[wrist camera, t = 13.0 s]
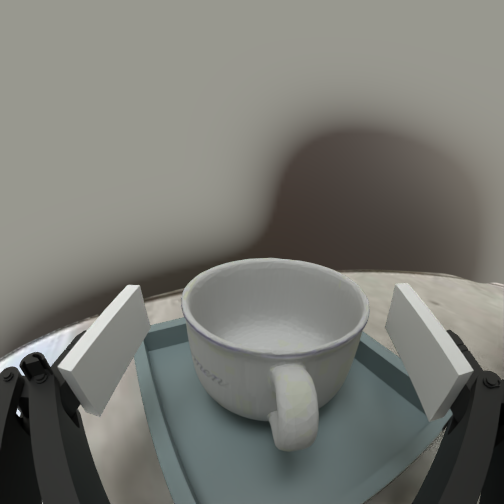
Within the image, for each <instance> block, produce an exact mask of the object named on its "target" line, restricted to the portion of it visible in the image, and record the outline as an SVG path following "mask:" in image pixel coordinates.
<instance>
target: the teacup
mask: <svg viewBox="0 0 504 504" xmlns="http://www.w3.org/2000/svg"><path fill="white" fill-rule="evenodd" d="M181 307H182V311H183V315H184V317H185V319H186V326H187V334H188V340H189V345H190V350H191V355H192V359H193V363H194V367H195V370H196V373H197V375H198V378H199V380H200V382H201V384H202V385H203V387H204V388H205V390H206V391H207V393H208V394H209V395H210V396H211V397H212V398H213V399H214V400H215V401H216V402H217V403H219V404H220V405H221V406H222V407H224V408H226V409H227V410H229V411H231V412H233V413H235V414H238V415H240V416H243V417H246V418H249V419H253V420H260V421H269V422H270V425H271V429H272V434H273V439H274V443H275V446H276V447H277V448H278V449H279V450H282V451H287V452H290V451H297V450H302V449H305V448H308V447H310V446H311V445H312V444H313V443H314V441H315V439H316V436H317V432H318V420H319V411H318V409H319V408H321V407H322V406H324V405H325V404H326V403H328V402H329V401H330V400H331V399H332V398H333V397H334V396H335V394H336V393H337V392H338V391H339V389H340V388H341V386H342V384H343V383H344V381H345V379H346V377H347V375H348V372H349V370H350V368H351V365H352V362H353V360H354V357H355V354H356V351H357V348H358V345H359V341H360V338H361V334H362V331H363V329H364V327H365V325H366V323H367V321H368V317H369V312H370V309H369V302H368V298H367V296H366V294H365V293H364V292H363V290H362V289H361V288H360V287H359V285H357V284H356V283H355V282H354V281H352V280H351V279H350V278H348V277H346V276H345V275H343V274H341V273H339V272H337V271H334V270H332V269H329V268H326V267H324V266H320V265H317V264H313V263H308V262H303V261H296V260H288V259H277V258H262V259H246V260H240V261H234V262H230V263H226V264H222V265H219V266H216V267H214V268H211V269H209V270H207V271H205V272H203V273H201V274H200V275H198V276H196V277H195V278H194V279H193V280H191V281H190V282H189V283H188V285H187V287H186V288H185V289H184V291H183V293H182V298H181Z"/></svg>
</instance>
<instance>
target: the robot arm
mask: <svg viewBox="0 0 504 504" xmlns="http://www.w3.org/2000/svg"><path fill="white" fill-rule="evenodd" d="M150 328H151V326H150V323H149V319H148V316H147V312H146V308H145V304H144V300H143V296H142V292H141V288H140V285H127V287H125V288H124V290H123V291H122V292H121V293H120V294H119V295H118V296H117V297H116V298H115V299H114V300H113V302H112V303H111V304H110V305H109V306H108V307H107V308H106V309H105V311H104V312H103V313H102V314H101V315H100V316H99V317H98V318H97V320H96V321H95V322H94V323H93V324H92V325H91V327H90V328H89V329H88V330H87V331H83V332H82V333H80V334H79V335H77V336H76V337H75V338H74V339H73V341H72V342H71V344H69V345H68V347H67V348H66V350H64V351H63V353H62V354H61V355H60V356H59V357H58V359H57V360H56V361H55V362H54V364H53V365H52V366H51V367H50V366H49V364H48V362H47V360H46V359H45V357H44V355H43V354H42V353H39V352H34V353H31V354H28V355H27V356H26V357H24V358H23V359H22V361H21V363H20V368H21V370H22V371H23V373H24V374H25V376H22V375H21V374H20V372H19V370H18V369H17V368H16V367H8V368H6V369H4V370H3V371H2V372H1V373H0V504H42V502H43V504H110V502H109V500H108V497H107V495H106V493H105V490H104V488H103V485H102V483H101V480H100V478H99V475H98V472H97V469H96V467H95V464H94V461H93V458H92V455H91V452H90V448H89V445H88V442H87V438H86V434H85V431H84V427H83V423H82V419H81V414H80V412H79V410H78V407H79V405H80V404H81V405H82V407H83V408H84V410H85V411H86V412H87V413H90V414H93V415H96V416H99V417H100V416H101V414H102V412H103V410H104V409H105V407H106V405H107V403H108V401H109V399H110V397H111V396H112V394H113V392H114V390H115V388H116V387H117V385H118V383H119V381H120V380H121V378H122V376H123V374H124V373H125V371H126V369H127V367H128V366H129V364H130V362H131V360H132V359H133V357H134V355H135V354H136V352H137V350H138V348H139V347H140V345H141V343H142V342H143V340H144V338H145V337H146V335H147V333H148V332H149V330H150ZM385 328H386V330H387V332H388V334H389V336H390V338H391V340H392V342H393V344H394V346H395V348H396V350H397V352H398V354H399V356H400V358H401V360H402V362H403V364H404V366H405V368H406V371H407V373H408V375H409V377H410V379H411V381H412V383H413V386H414V388H415V390H416V392H417V395H418V397H419V399H420V402H421V404H422V406H423V409H424V411H425V413H426V416H427V418H428V421H429V422H431V421H434V420H437V419H440V418H443V417H444V416H445V415H446V413H447V412H448V410H449V409H451V411H452V413H453V414H452V416H451V417H450V418H449V420H448V421H447V422H446V424H445V425H444V426H443V428H442V430H444V429H445V428H446V427H447V428H446V431H445V434H444V436H443V439H442V442H441V444H440V447H439V449H438V452H437V454H436V457H435V459H434V461H433V463H432V466H431V468H430V470H429V472H428V474H427V476H426V478H425V480H424V482H423V484H422V486H421V488H420V490H419V492H418V494H417V496H416V497H415V499H414V501H413V503H412V504H477V501H478V498H479V496H480V493H481V496H480V502H479V504H504V380H501V379H500V377H499V376H498V375H497V374H495V373H493V372H491V371H483V370H482V368H481V367H480V365H479V364H478V362H477V361H476V360H475V358H474V357H473V355H472V354H471V353H470V351H468V348H467V347H466V346H465V345H464V343H463V342H462V340H461V339H460V338H459V336H458V335H456V334H455V333H454V332H452V331H451V330H447V331H446V330H445V329H444V328H443V326H442V325H441V324H440V322H439V321H438V320H437V318H436V317H435V316H434V314H433V313H432V312H431V311H430V309H429V308H428V307H427V306H426V304H425V303H424V302H423V301H422V299H421V298H420V297H419V296H418V295H417V293H416V292H415V291H414V290H413V289H412V287H411V286H410V285H409V284H408V283H400V284H395V288H394V293H393V297H392V301H391V306H390V310H389V314H388V318H387V322H386V326H385ZM17 409H18V410H19V411H20V412H21V415H20V417H19V416H18V415H17V414H16V411H17Z"/></svg>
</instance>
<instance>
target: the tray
mask: <svg viewBox="0 0 504 504" xmlns="http://www.w3.org/2000/svg"><path fill="white" fill-rule="evenodd" d="M150 326H151V328H150V330H149V332H148V333H147V335H146V337H145V338H144V340H143V342H142V343H141V345H140V347H139V348H138V350H137V352H136V354H135V355H134V359H135V365H136V370H137V376H138V381H139V386H140V391H141V396H142V401H143V405H144V409H145V414H146V418H147V422H148V425H149V429H150V433H151V437H152V440H153V444H154V447H155V450H156V454H157V457H158V460H159V463H160V466H161V469H162V472H163V475H164V478H165V481H166V483H167V486H168V489H169V491H170V494H171V496H172V499H173V501H174V504H364V503H365V502H366V501H368V500H369V499H370V498H372V497H373V496H374V495H376V494H377V493H378V492H379V491H381V490H382V489H383V488H384V487H386V486H387V485H388V484H389V483H391V482H392V481H393V480H394V479H395V478H396V477H398V476H399V475H400V474H401V473H402V472H403V471H404V470H405V469H406V468H407V467H409V466H410V465H411V464H412V463H413V462H414V461H415V460H416V459H417V458H418V457H419V456H420V455H421V454H422V453H423V452H424V451H425V450H426V449H427V448H428V447H429V446H430V444H431V443H432V442H433V441H434V440H435V439H436V438H437V437H438V436H439V434H440V433H441V432H442V431H443V430H442V428H443V426H444V425H445V424H446V422H447V421H448V420H449V418H450V417H451V416H452V414H453V413H452V411H451V409H449V410H448V412H447V413H446V415H445V416H444V417H443V418H440V419H437V420H434V421H431V422H429V421H428V418H427V416H426V413H425V411H424V409H423V406H422V404H421V402H420V399H419V397H418V395H417V392H416V390H415V388H414V386H413V383H412V381H411V379H410V377H409V375H408V373H407V371H406V368H405V366H404V364H403V362H402V360H401V358H399V357H398V356H397V355H395V354H394V353H392V352H391V351H390V350H388V349H387V348H385V347H384V346H383V345H381V344H380V343H378V342H377V341H376V340H374V339H373V338H371V337H370V336H369V335H367V334H366V333H364V332H363V331H362V334H361V338H360V341H359V345H358V348H357V351H356V354H355V357H354V360H353V362H352V365H351V368H350V370H349V372H348V375H347V377H346V379H345V381H344V383H343V384H342V386H341V388H340V389H339V391H338V392H337V393H336V394H335V396H334V397H333V398H332V399H331V400H330V401H329V402H328V403H326V404H325V405H324V406H322V407H321V408H319V409H318V411H319V420H318V432H317V436H316V439H315V441H314V443H313V444H312V445H311V446H310V447H308V448H305V449H302V450H297V451H290V452H287V451H282V450H279V449H278V448H277V447H276V446H275V443H274V439H273V434H272V429H271V425H270V422H269V421H260V420H253V419H249V418H246V417H243V416H240V415H238V414H235V413H233V412H231V411H229V410H227V409H226V408H224V407H222V406H221V405H220V404H219V403H217V402H216V401H215V400H214V399H213V398H212V397H211V396H210V395H209V394H208V393H207V391H206V390H205V388H204V387H203V385H202V384H201V382H200V380H199V378H198V375H197V373H196V370H195V367H194V363H193V359H192V355H191V350H190V345H189V340H188V334H187V326H186V319H185V317H183V318H179V319H175V320H171V321H167V322H163V323H158V324H154V325H150Z"/></svg>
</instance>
